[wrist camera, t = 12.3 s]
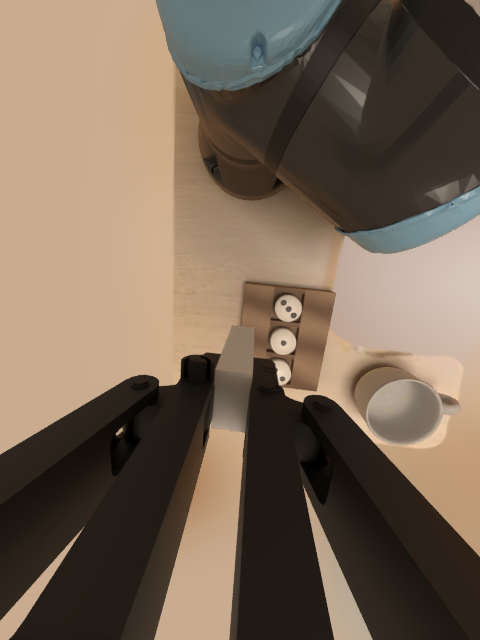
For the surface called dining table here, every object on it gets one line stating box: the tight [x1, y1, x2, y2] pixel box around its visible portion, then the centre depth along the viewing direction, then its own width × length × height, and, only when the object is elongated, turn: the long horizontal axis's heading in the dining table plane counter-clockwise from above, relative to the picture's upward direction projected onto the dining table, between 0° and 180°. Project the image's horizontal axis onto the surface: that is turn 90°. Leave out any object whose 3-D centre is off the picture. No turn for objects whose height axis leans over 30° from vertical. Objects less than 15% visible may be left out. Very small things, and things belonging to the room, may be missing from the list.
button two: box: [271, 357, 291, 385], centre depth 40 cm, size 4×4×3 cm
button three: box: [274, 294, 302, 322], centre depth 37 cm, size 4×4×3 cm
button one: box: [270, 326, 296, 355], centre depth 38 cm, size 4×4×3 cm
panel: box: [241, 282, 336, 391], centre depth 39 cm, size 17×14×2 cm
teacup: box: [354, 367, 460, 446], centre depth 38 cm, size 14×11×8 cm
